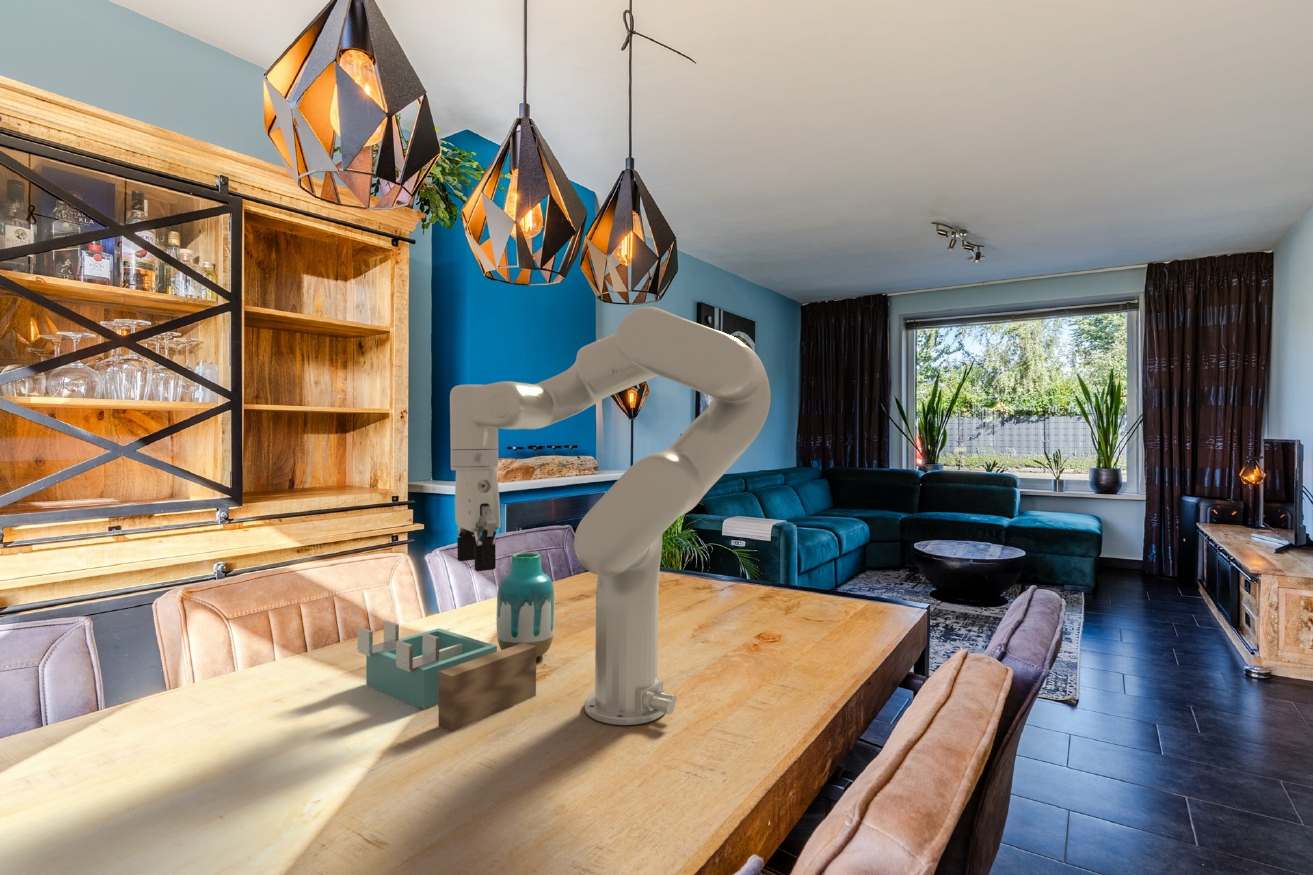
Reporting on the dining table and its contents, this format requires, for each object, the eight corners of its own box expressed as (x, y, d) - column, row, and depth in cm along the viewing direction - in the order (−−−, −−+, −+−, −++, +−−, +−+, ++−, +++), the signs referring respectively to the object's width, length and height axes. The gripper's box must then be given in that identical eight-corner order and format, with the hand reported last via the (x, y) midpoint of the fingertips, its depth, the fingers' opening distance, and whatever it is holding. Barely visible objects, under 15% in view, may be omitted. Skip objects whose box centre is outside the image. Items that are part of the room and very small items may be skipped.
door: (523, 691, 107) (523, 642, 107) (535, 696, 105) (536, 646, 105) (438, 726, 94) (438, 671, 94) (451, 732, 92) (451, 676, 92)
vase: (483, 661, 121) (484, 556, 120) (521, 644, 130) (522, 547, 130) (530, 671, 116) (530, 562, 115) (565, 653, 125) (566, 552, 125)
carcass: (496, 681, 111) (496, 645, 111) (423, 709, 100) (423, 669, 100) (438, 660, 120) (439, 628, 120) (366, 684, 109) (366, 648, 109)
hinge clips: (439, 662, 103) (439, 637, 103) (409, 672, 98) (409, 646, 98) (386, 644, 111) (386, 620, 111) (357, 652, 107) (357, 627, 107)
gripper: (515, 461, 102) (516, 571, 102) (481, 458, 117) (482, 554, 117) (466, 463, 98) (468, 577, 98) (438, 459, 113) (439, 559, 113)
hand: (476, 564), depth 108 cm, fingers open, 9 cm apart
